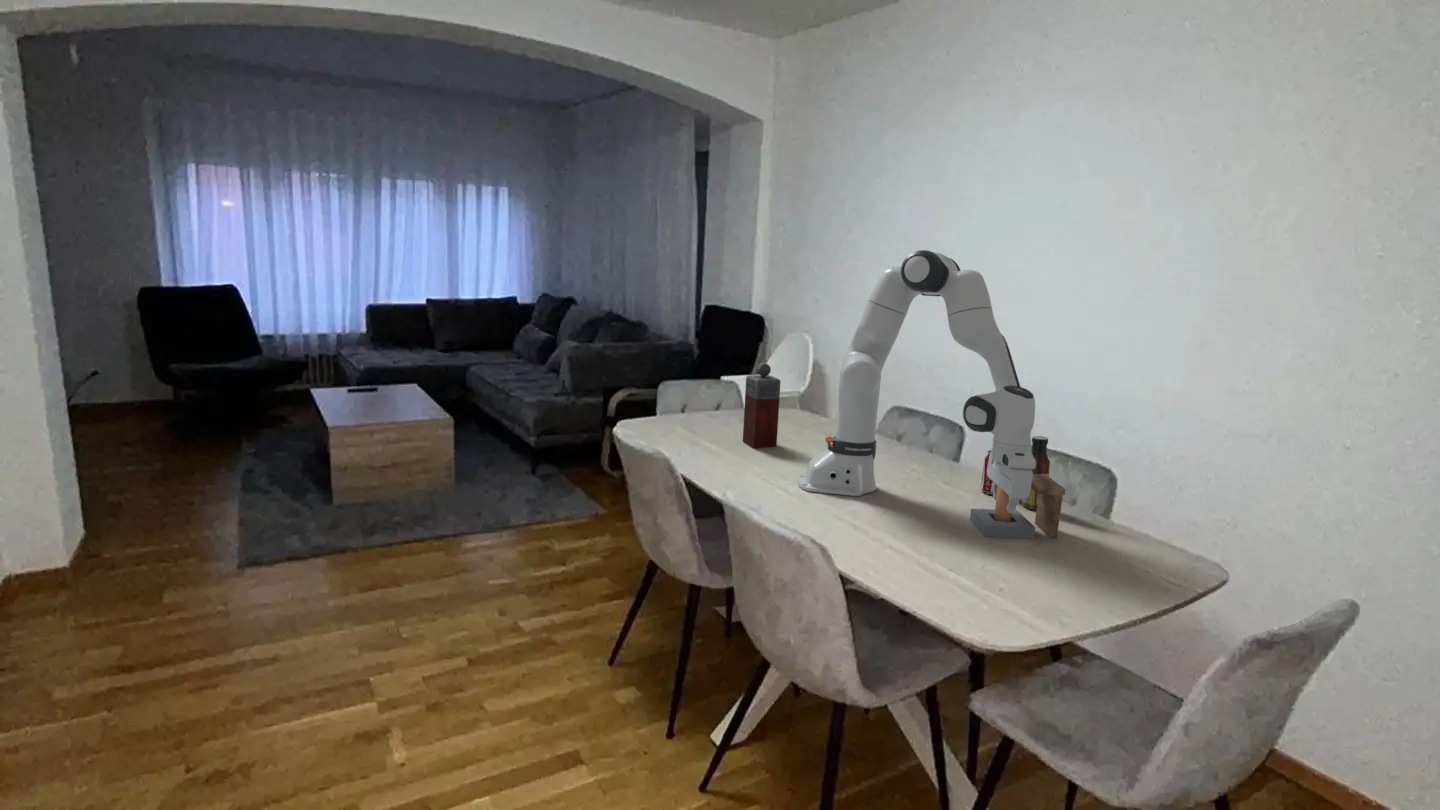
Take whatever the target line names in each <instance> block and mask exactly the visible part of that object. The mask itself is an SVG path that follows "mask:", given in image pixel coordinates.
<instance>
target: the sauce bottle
mask: <svg viewBox="0 0 1440 810" xmlns="http://www.w3.org/2000/svg"><path fill="white" fill-rule="evenodd" d="M1048 444H1049V437H1047V436H1046V437H1045V436H1042V435H1041V436H1040V435H1035V436H1031V452H1032V455H1033V457H1034V459H1035V461H1036V467H1035V469H1031V470H1032V473H1033V474H1043V475H1047V476H1048V477H1050V466H1051V465H1050V464H1051V461H1050V459H1049V457H1048V454H1047V449H1048ZM1038 497H1039V494H1037V493H1036V492H1035V491H1034V490H1032V489H1030V494H1029V497H1028V498H1027V500H1021V501H1022V503H1021V505H1022V507H1023V508H1025V509H1027V510H1032V511H1037V504H1038Z"/></svg>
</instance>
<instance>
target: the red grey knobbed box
mask: <svg viewBox="0 0 1440 810" xmlns="http://www.w3.org/2000/svg"><path fill="white" fill-rule="evenodd" d="M771 371H772V369H771V366H770V365H769V364H768V363H765V362H761V363H759V364H758V365H757V368H756V372H757V374H752V375H751V374H750V375H747V376H746V377H745V391H744V393H745V395H744V408H743V410H744V411H743V430H742V443H743V442H744V443H743V444H745V445H746V446H748V447H750V448H751V449H767V448H777V445H778V429H779V428H778V426H779V412H780V411H779V410H780V400H781V399H780V398H781V397H780V395H781V383H782V382H781V380H780V379H779V378H778V377H775V376H773V375H770V373H771Z"/></svg>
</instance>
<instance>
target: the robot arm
mask: <svg viewBox="0 0 1440 810" xmlns="http://www.w3.org/2000/svg"><path fill="white" fill-rule="evenodd" d="M876 281H877V282H876V283H875V285H874V287H873V289H872V291H871V293H870V295H869V297H868V300H867V302H866V305H865V307H864V310H863V312H862V315H861V317H860V319H859V323H858V325H857V327H856V329H855V333H854V335H853V337H852V339H851V341H850V344H849V347H848V349H847V352H846V354H845V356H844V359H843V361H842V365H841V368H840V373H839V382H838V383H839V384H838V385H839V386H838V387H839V388H838V401H837V415H836V416H837V417H836V430H835V435H834V436H833V437H832V436H831V435H826V436H825V437H824V439H825V440H824V441H825V442H826V444H827V449H825V450H824V451H822V452H821V453H819V454H818V455H816V456H814V457H813V458H811V460H810V461H809V462H808V463H807V467H806V471H805V473H802V474H800V475H799V476H798V477H797V484H798V486H799V487H800V488H801V489H802V490H804V491H806V492H813V493H822V494H830V495H831V494H833V495H843V496H851V497H860V496H863V495H864V494H868V493H872V492H875V491H876V490H877V485H876V479H875V469H874V468H875V463H874V462H875V461H874V460H875V458H876V452H877V440H876V432H877V431H876V430H877V419H878V408H879V401H880V400H879V399H880V390H881V389H880V388H881V379H882V371H883V368H884V366H885V364H886V361H887V359H888V357H889V355H890V353H891V351H892V348H893V346H894V344H895V342H896V340H897V338H898V335H899V333H900V331H901V328H902V326H903V324H904V321H905V318H906V316H907V314H908V311H909V309H910V306H911V304H912V303H913V300H914V299H915V298H916V297H917V296H919V295H921V296H925V297H941V298H943V301H944V303H945V307H946V313H947V320H948V321H947V322H948V327H949V330H950V334H951V336H952V339H953V340H954V341H955V342H956V343H957V344H958V345H961V346H962V347H964V348H965V349H967V350H970V351H973V352H974V353H976V354H978V355H979V356H981V357H982V358H983V359H984V360H985V362H986V363H987V365H988V368H989V371H990V376H991V378H992V381H993V385H994V388H995V391H992V392H988V393H981V394H976V395H973V396H970V397H969V398H968V399H967V400H966V402H965V403H964V405H963V409H962V418H963V421H964V423H965V425H966V426H967V427H968V428H969V429H970V430H971V431H974V432H977V433H991V434H992V435H993V437H992V438H993V439H992V447H991V450H992V452H991V453H990V456H989V461H988V467H987V476H988V477H989V478H990V479H991V480H992V481H993V491H994V494H993V495H992V496H993V497H992V498H993V499H994V500H995V501H996V497H997V489H998V482H999V483H1000V488H1001V489H1002V490H1003V491H1004V492H1005V493H1006V494H1007V495H1009V503H1008V504H1007V506H1006V511H1007V512H1008V513H1015V511H1017V510H1016V509H1017V506H1018V505H1019V502H1020V501H1022V500H1027V498H1028V497H1029V494H1030V489H1031V484H1032V477H1033V473H1032V470H1031V469H1035V467H1036V461H1035V459H1034V457H1033V455H1032V452H1031V450H1032V436H1031V434H1032V431H1033V429H1034V424H1035V415H1036V414H1035V413H1036V400H1035V395H1034V394H1033V393H1032V391H1031V390H1029V389H1028V388H1024V387H1021V385H1020V381H1019V378H1018V374H1017V372H1016V368H1015V364H1014V361H1013V358H1012V354H1011V352H1010V351H1011V350H1010V347H1009V344H1008V342H1007V340H1006V338H1005V336H1004V335H1003V334H1002V333H1001V331H1000V330H999V329H1000V328H999V327H998V324H997V322H996V318H995V316H994V311H993V307H992V306H993V305H992V301H991V296H990V293H989V291H988V286H987V284H986V281H985V279H984V276H983V274H981V273H980V272H979V271H978V270H977V271H976V270H973V269H961V268H960V266H959V264H958V263H957V262H956V261H955V260H954V259H952V258H950V257H948V256H947V255H945V254H942V253H940V252H934V251H931V250H927V249H925V250H923V249H922V250H920V249H919V250H917V251H913V252H911V253H910V254H908V255H907V256H906V257H905V258H904V260H903V261H902V264H901V266H890V267H887V268H885V269H884V270H883V271H882V273H881V275H880V276H879V278H878V279H877V280H876Z"/></svg>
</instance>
